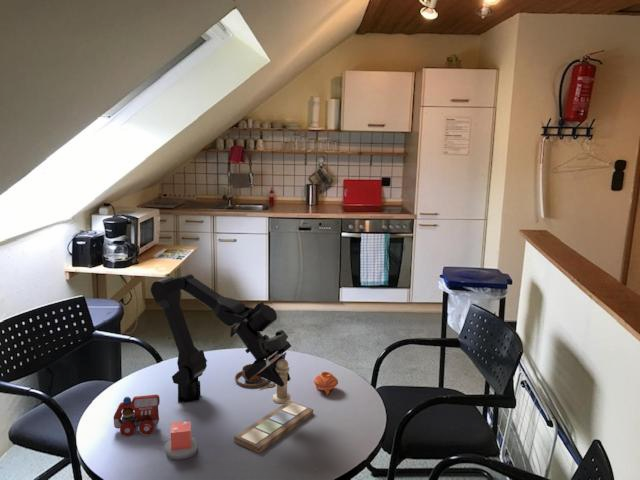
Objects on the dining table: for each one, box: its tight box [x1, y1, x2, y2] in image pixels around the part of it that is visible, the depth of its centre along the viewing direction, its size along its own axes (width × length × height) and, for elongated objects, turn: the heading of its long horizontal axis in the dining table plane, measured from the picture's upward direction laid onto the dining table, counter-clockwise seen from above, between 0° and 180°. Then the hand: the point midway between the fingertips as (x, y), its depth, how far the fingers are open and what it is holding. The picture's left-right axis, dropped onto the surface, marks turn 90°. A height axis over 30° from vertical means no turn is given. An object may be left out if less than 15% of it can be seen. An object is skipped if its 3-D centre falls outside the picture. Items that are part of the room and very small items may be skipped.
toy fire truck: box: [113, 394, 161, 437], centre depth 153 cm, size 7×12×10 cm, turn 101°
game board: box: [233, 400, 314, 454], centre depth 157 cm, size 25×9×2 cm, turn 146°
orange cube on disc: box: [165, 420, 198, 461], centre depth 144 cm, size 8×8×8 cm
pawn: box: [272, 358, 292, 405], centre depth 156 cm, size 5×5×13 cm
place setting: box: [234, 356, 276, 391], centre depth 188 cm, size 18×20×6 cm
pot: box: [313, 371, 339, 396], centre depth 178 cm, size 8×8×7 cm
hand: (286, 383), depth 156 cm, fingers closed on pawn, 3 cm apart
